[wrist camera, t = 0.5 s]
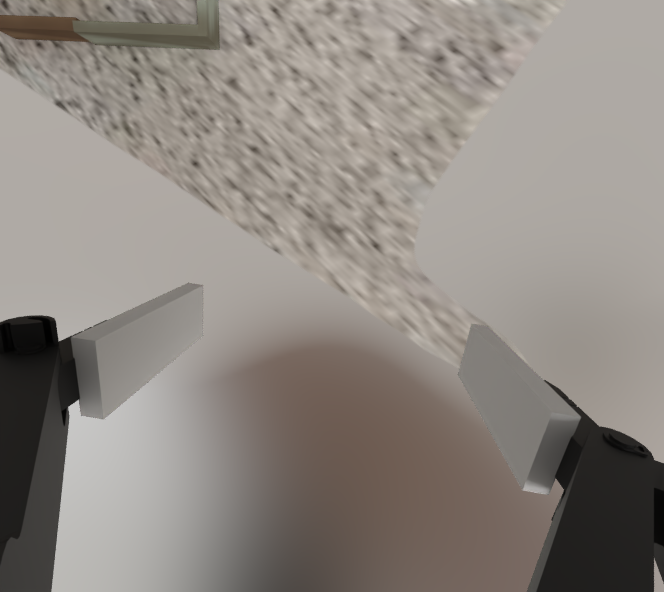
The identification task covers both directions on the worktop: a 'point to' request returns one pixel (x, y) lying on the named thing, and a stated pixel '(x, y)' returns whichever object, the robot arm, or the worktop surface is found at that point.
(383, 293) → the worktop surface
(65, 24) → the frame
